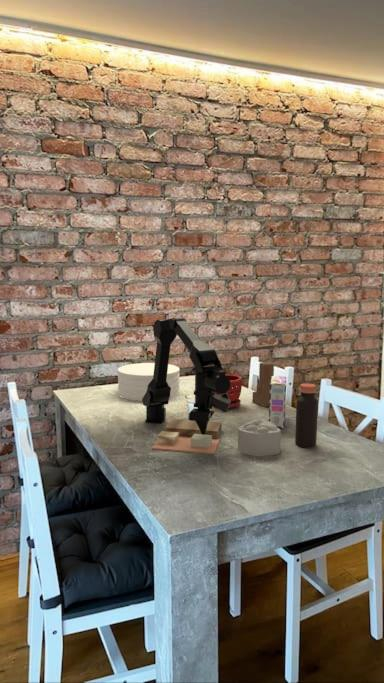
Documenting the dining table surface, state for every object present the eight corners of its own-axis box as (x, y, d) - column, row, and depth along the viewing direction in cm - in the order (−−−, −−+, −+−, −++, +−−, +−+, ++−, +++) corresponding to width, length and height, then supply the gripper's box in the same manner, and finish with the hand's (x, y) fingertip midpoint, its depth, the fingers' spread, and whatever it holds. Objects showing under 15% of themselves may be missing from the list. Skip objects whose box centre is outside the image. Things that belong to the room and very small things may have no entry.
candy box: (284, 428, 181) (286, 384, 178) (268, 427, 182) (269, 383, 179) (285, 417, 194) (286, 375, 192) (270, 416, 195) (271, 375, 193)
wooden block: (252, 402, 216) (253, 360, 213) (260, 400, 218) (261, 360, 215) (264, 407, 208) (265, 364, 205) (273, 406, 210) (274, 363, 207)
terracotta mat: (152, 449, 160) (152, 447, 160) (162, 436, 172) (162, 434, 172) (214, 454, 156) (214, 452, 156) (219, 440, 168) (220, 439, 168)
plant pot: (233, 399, 219) (234, 373, 217) (246, 407, 207) (247, 379, 205) (205, 402, 215) (205, 374, 213) (216, 410, 202) (217, 381, 201)
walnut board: (165, 436, 172) (165, 427, 172) (172, 426, 182) (172, 418, 181) (217, 439, 168) (217, 431, 168) (221, 430, 178) (221, 422, 178)
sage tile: (194, 433, 165) (194, 441, 166) (190, 438, 161) (190, 446, 161) (212, 435, 164) (211, 442, 164) (208, 440, 159) (208, 447, 160)
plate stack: (145, 383, 249) (145, 360, 248) (191, 391, 233) (191, 367, 232) (105, 394, 227) (104, 369, 225) (152, 405, 211) (152, 378, 209)
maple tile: (162, 431, 168) (162, 438, 168) (157, 435, 163) (157, 443, 164) (179, 432, 167) (179, 439, 167) (175, 437, 162) (175, 444, 162)
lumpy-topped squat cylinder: (283, 454, 156) (283, 427, 155) (242, 457, 154) (243, 429, 152) (271, 442, 166) (272, 417, 165) (233, 445, 164) (234, 419, 162)
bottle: (290, 442, 166) (293, 383, 163) (307, 439, 169) (310, 381, 166) (303, 449, 160) (305, 388, 157) (320, 446, 163) (323, 386, 160)
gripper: (225, 395, 149) (224, 446, 151) (232, 381, 167) (232, 427, 169) (188, 393, 151) (188, 443, 153) (199, 380, 169) (199, 424, 171)
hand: (203, 434), depth 162 cm, fingers closed
